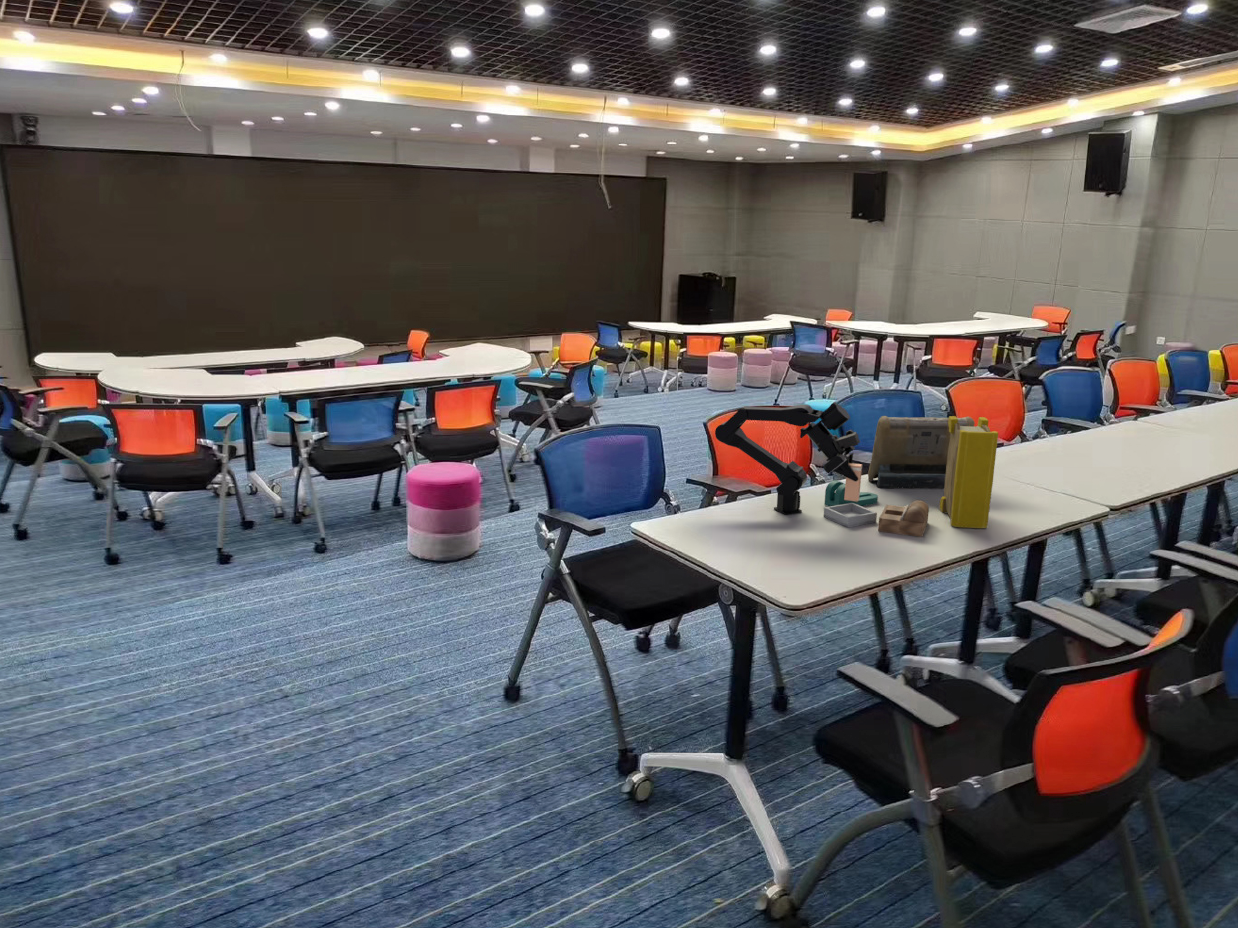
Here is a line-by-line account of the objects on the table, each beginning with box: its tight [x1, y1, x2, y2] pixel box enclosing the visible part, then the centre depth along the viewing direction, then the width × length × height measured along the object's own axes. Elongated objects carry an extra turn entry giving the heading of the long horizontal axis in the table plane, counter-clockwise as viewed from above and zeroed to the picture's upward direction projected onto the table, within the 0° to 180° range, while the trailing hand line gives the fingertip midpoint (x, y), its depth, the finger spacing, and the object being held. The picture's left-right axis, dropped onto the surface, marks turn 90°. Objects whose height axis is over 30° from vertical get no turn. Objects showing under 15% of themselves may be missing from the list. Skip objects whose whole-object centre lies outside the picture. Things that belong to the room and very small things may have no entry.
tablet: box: [867, 415, 975, 490], centre depth 291 cm, size 33×14×25 cm, turn 94°
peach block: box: [844, 462, 863, 502], centre depth 254 cm, size 4×2×11 cm, turn 65°
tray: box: [823, 503, 878, 528], centre depth 257 cm, size 11×11×3 cm
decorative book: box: [939, 415, 999, 529], centre depth 255 cm, size 20×11×30 cm, turn 169°
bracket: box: [824, 479, 879, 507], centre depth 272 cm, size 18×7×8 cm, turn 117°
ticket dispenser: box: [877, 500, 930, 538], centre depth 250 cm, size 12×14×7 cm
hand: (858, 479), depth 253 cm, fingers closed on peach block, 2 cm apart
